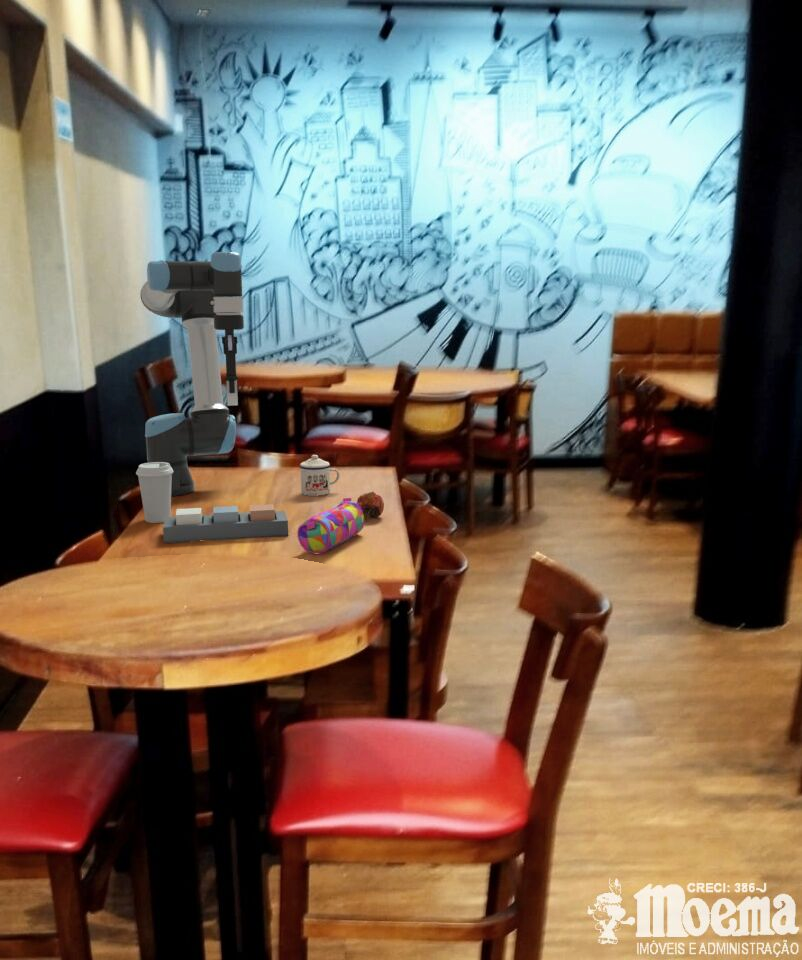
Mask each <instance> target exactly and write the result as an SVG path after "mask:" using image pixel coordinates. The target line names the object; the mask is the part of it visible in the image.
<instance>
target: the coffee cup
mask: <svg viewBox="0 0 802 960" xmlns="http://www.w3.org/2000/svg"><path fill="white" fill-rule="evenodd" d="M172 473H173V469H172V467H171V466H170V464H169V463H165V462H151V463H148V462H144V463H141V464H139V465H138V468H137V470H136V472H135V475H137V476H138V484H139V488H140V489H139V490H140V496H141V502H142V507H143V513H144V514H143V515H144V520H145V522H146V523H148V522H149V524H160V523H164V522H165V517H172V516H171V514H172V509H171V508H172V496H171V481H172Z"/></svg>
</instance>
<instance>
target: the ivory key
mask: <svg viewBox="0 0 802 960" xmlns="http://www.w3.org/2000/svg"><path fill="white" fill-rule="evenodd" d="M202 512H203V511H202V507H191V508H189V507H188V508H176V512H175V517H176V525H189V524H202V515H203V514H202Z"/></svg>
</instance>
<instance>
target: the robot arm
mask: <svg viewBox="0 0 802 960" xmlns="http://www.w3.org/2000/svg"><path fill="white" fill-rule="evenodd" d="M241 259H242V258H241V255H240V253H238V252H234V251H232V252H231V251H216V252H214V251H213V252H212V253H211V255H210V261H209V260H206V261H204V260H203V261H202V260H200V261H197V260H194V261H191V260H187V261H183V260H182V261H180V260H179V261H178V260H177V261H175V260H163V259H162V260H157V261H155V260H151V261H149V262H148V263H147V266H146V267H147V268H146V277H147V281H146V282H144V284H143V285H142V287H141V289H140V293H139V295H140V300H141V303H142V305H143V307H145V309H146V310H148V311H149V312H151V313H153V314H154V315H156V316H160V317H163V318H171V319H178V318H179V319H181V324H182V325H183V327H184V328H186V329H187V334H188V346H189V356H190V367H191V369H190V370H191V375H192V376H191V377H192V378H191V379H192V389H193V399H194V407H193V408H192V409H191V410H190V417H186V415H185V414H184V413H183V412H182V413H181V412H176V413H166V414H160V415H157V416H154V417H153V416H152V417H151V418H149V419H147V421H146V422H145V425H144V426H145V434H144V437H145V444H146V460H147V463H151V462H165V463H169V464H170V466H171V467H172V469H173V473H172V481H171V497H176V496H177V497H178V496H183V495H186V494H190V493H192V492H194V491H195V482H194V478H193V476H192V473H191V471H190V468H189V466H188V457H190V456H192V457H193V456H208V455H219V454H220V455H221V454H228V453H231V451H232V450H233V448H234V446H235V442H236V437H237V436H236V435H237V422H236V417H235V416H234V415H233V414H230V411H229V408H228V407H230V406H238V405H239V402H238V401H239V397H238V396H239V395H238V380H240V377H239V376H238V375H237V364H236V363H237V362H236V355H237V354H238V345H237V344H238V336H235V333H234V332H235V331H240V330H243V329H244V327H245V326H244V323H245V322H244V315H243V314H242V313H243V312H244V298H243V282H242V281H243V276H242V275H243V273H242V268H243V265H242V263H241V261H242V260H241ZM217 331H224V336H221V343H222V346H223V347H222V348H223V354H224V355H225V368H226V369H225V370H226V373H225V378H223V381H224V382H225V381H226V384H225V386H226V401H227V406H226V405H225V404H224V399H223V398H224V397H223V388H222V387H223V386H222V378H221V377H222V376H221V367H220V366H221V365H220V355H219V345H218V334H217Z"/></svg>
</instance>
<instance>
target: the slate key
mask: <svg viewBox="0 0 802 960" xmlns="http://www.w3.org/2000/svg"><path fill="white" fill-rule="evenodd" d="M212 512H213V514H212V515H213V516H214V523H225V522H239V520H238V513H239V506H238V505H232V506H230V505H229V506H228V505H227V506H214V507H213V510H212Z"/></svg>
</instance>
